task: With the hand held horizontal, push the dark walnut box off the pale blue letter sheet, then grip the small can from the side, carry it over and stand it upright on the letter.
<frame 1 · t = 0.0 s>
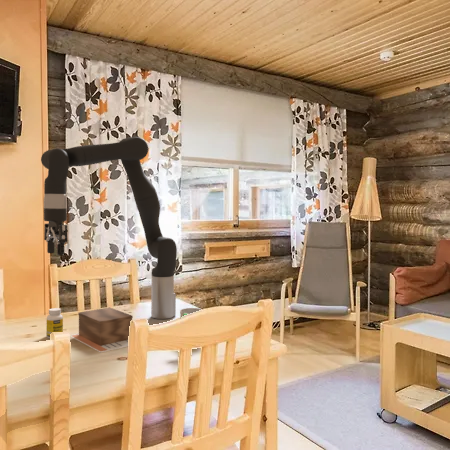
hand: (55, 254, 155), 29 cm above the table, tool pointing down, fingers open, 8 cm apart
walnut box: (105, 336, 157), resting on letter
cup: (191, 339, 157), on the table
letter: (105, 339, 155), on the table
toy figure: (182, 351, 144), on the table
supplement bottle: (54, 337, 157), on the table
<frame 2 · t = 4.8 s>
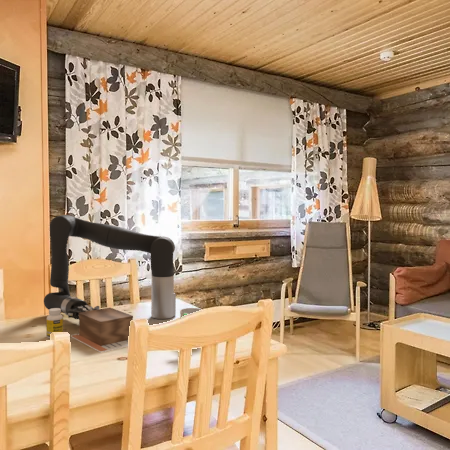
hand: (94, 316, 162), 6 cm above the table, tool horizontal, fingers closed
walnut box: (105, 337, 157), resting on letter, touching gripper
everything else where it was.
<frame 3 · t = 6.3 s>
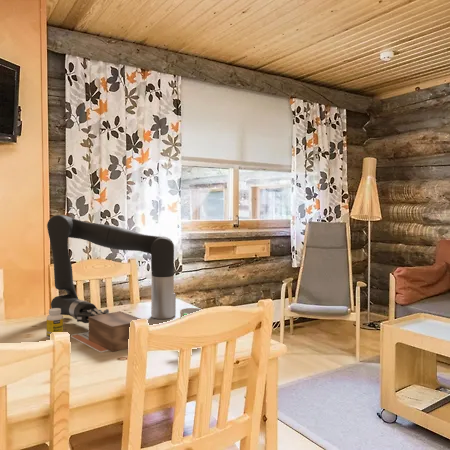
hand: (104, 320, 157), 6 cm above the table, tool horizontal, fingers closed
walnut box: (116, 342, 151), resting on letter
everything else where it was.
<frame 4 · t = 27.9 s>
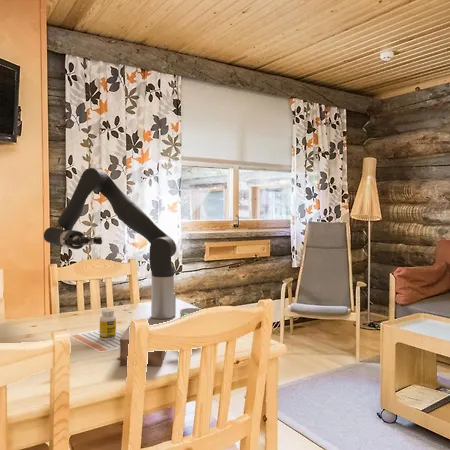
hand: (90, 242, 172), 32 cm above the table, tool horizontal, fingers open, 8 cm apart
walnut box: (145, 357, 138), on the table
supplement bottle: (107, 338, 156), resting on letter
everything else where it was.
at the end: supplement bottle inside the target area on the letter (1.0 cm from its centre), point 0.0 cm above the letter's base; supplement bottle tilted 0°; walnut box inside the target area (5.7 cm from its centre), on the table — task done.
